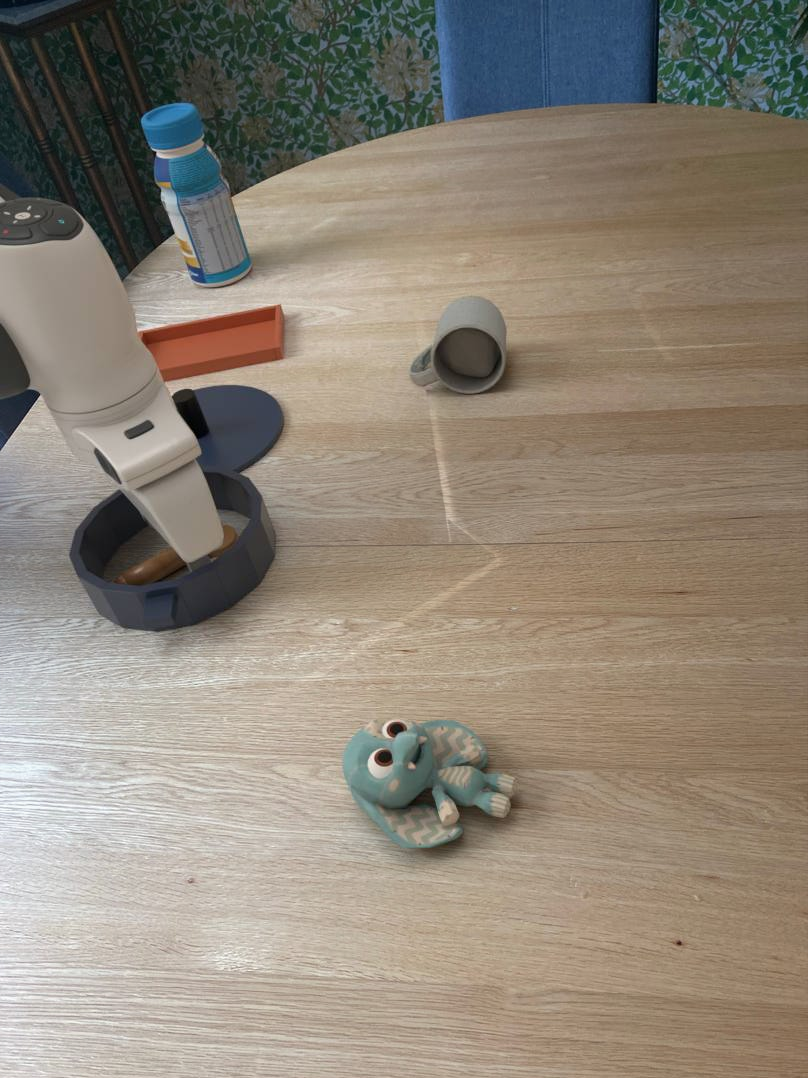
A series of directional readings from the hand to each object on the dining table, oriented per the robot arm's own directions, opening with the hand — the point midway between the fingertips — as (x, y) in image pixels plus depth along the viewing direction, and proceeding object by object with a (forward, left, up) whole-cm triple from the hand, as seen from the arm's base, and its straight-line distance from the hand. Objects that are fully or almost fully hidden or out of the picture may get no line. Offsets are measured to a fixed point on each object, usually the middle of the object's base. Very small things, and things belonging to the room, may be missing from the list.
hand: (178, 545), depth 90 cm
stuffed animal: (+20, -30, -3) cm, 36 cm away
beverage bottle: (0, +59, -3) cm, 59 cm away
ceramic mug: (+28, +23, -3) cm, 36 cm away
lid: (0, +20, -2) cm, 20 cm away
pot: (0, 0, -3) cm, 3 cm away
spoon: (0, 0, -2) cm, 2 cm away
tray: (0, +38, -3) cm, 38 cm away
